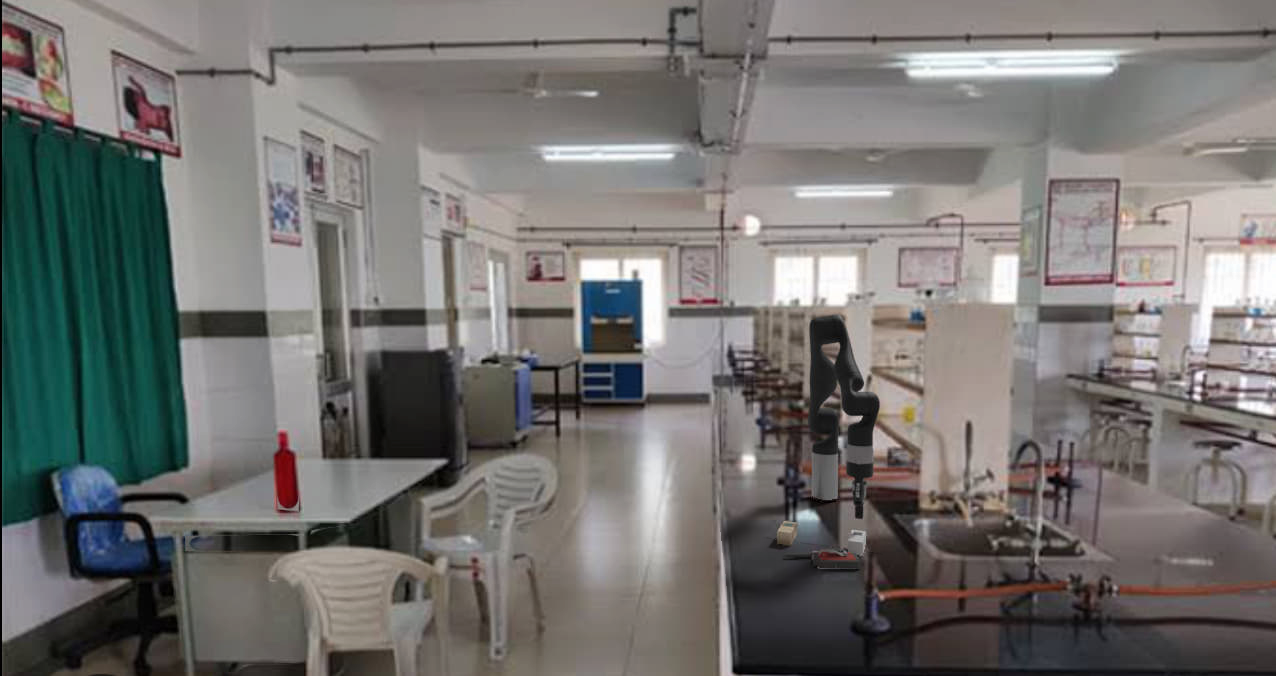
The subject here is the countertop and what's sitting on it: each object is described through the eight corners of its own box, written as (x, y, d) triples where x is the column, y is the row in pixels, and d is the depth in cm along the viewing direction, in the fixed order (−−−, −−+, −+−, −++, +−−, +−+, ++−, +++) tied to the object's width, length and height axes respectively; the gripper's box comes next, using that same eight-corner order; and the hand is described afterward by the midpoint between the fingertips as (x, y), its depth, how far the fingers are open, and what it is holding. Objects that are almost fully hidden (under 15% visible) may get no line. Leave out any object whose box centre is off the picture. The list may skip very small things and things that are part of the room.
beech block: (784, 520, 202) (777, 530, 193) (797, 522, 200) (790, 532, 191) (783, 533, 202) (777, 544, 193) (797, 535, 200) (790, 546, 191)
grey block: (851, 529, 194) (848, 540, 185) (866, 531, 192) (862, 542, 183) (851, 542, 194) (847, 554, 185) (865, 544, 192) (862, 556, 183)
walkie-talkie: (855, 559, 183) (783, 558, 184) (856, 543, 183) (784, 542, 184) (865, 572, 174) (789, 570, 175) (865, 555, 174) (789, 554, 175)
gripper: (848, 454, 199) (848, 510, 200) (843, 463, 187) (843, 523, 188) (875, 456, 196) (874, 513, 197) (871, 465, 184) (870, 526, 185)
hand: (859, 518), depth 192 cm, fingers closed
